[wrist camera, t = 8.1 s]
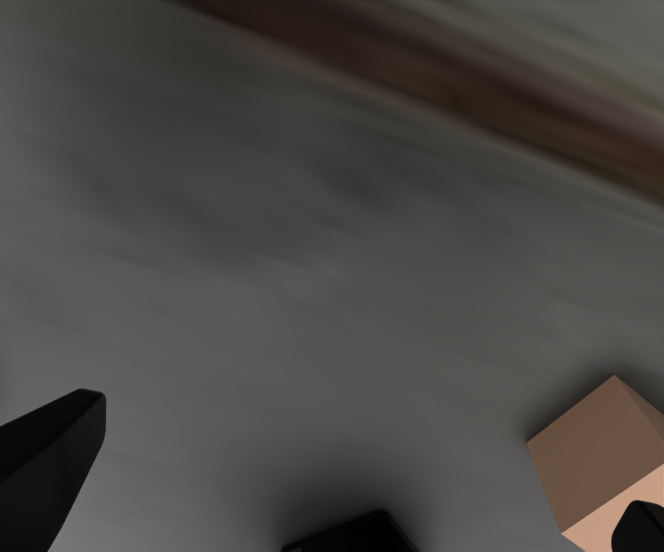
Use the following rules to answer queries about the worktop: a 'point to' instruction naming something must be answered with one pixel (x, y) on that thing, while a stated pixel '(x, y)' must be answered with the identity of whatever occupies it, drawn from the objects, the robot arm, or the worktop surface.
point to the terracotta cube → (600, 462)
